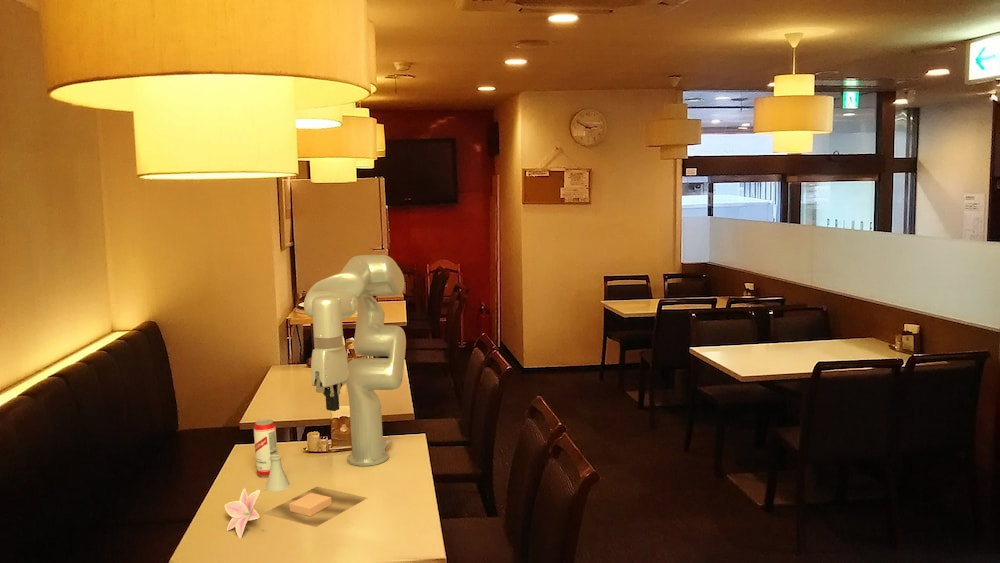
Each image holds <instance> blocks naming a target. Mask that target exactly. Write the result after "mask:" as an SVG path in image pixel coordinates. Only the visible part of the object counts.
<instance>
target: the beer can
mask: <svg viewBox="0 0 1000 563" xmlns="http://www.w3.org/2000/svg"><path fill="white" fill-rule="evenodd" d="M276 430H277V427H276V425H275V423H274V420H273V419H269V418H264V419H258V420H256V421H255V424H254V426H253V437H254V438H253V439H254V452H255V453H254V454H255V468H256V475H257V476H259V478H260V477H261V478H269V474H270V469H271V460H270V459H269V458H270V456H272V455H279V454H278V444H277V442H278V441H277V431H276Z"/></svg>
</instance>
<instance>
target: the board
mask: <svg viewBox="0 0 1000 563" xmlns="http://www.w3.org/2000/svg"><path fill="white" fill-rule="evenodd" d="M310 493H314V494H319V495H323V496H327V497H331V504H332V505H330V506H328V507H326V508H324V509H323V510H321V511H319V512H317V513H315V514H313V515H312V516H308V515H304V514H299V513H295V512H291V511H290V505H289V504H290V503H292V502H294V501H296V500H298V499H300V498H302V497H304V496H306V495H308V494H310ZM367 499H368V497H366V496H361V495H356V494H353V493H347V492H343V491H339V490H335V489H330V488H326V487H321V486H315V487H313V488H311V489H309V490H307V491H305V492H303V493H302V494H301V493H300V494H299V495H297V496H296V497H292V498H291V499H289V500H287V501H285V502H283V503H281V504H279V505H278V506H275V507H273V508H272V509H269V510H268V511H266V512H263V514H264V515H268V516H270V517H276V518H279V519H283V520H287V521H290V522H295V523H297V524H298V523H299V524H302V525H305V526H306V525H307V526H309V527H315V528H317V527H319V526H320V525H322V524H324V523H326V522H328V521H329V520H331V519H333V518H335V517H336V516H338V515H340V514H342V513H343V512H345V511H347V510H350V508H353V507H354V506H356V505H357V504H360V503H362V502H363V501H365V500H367Z"/></svg>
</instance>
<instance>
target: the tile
mask: <svg viewBox="0 0 1000 563" xmlns="http://www.w3.org/2000/svg"><path fill="white" fill-rule="evenodd" d="M289 505H290V511H291V512H295V513H299V514H304V515H308V516H312V515H313V514H315V513H317V512H319V511H321V510H323V509H324V508H326V507H328V506H330V505H332V504H331V497H327V496H323V495H319V494H314V493H310V494H308V495H306V496H304V497H302V498H300V499H298V500H296V501H294V502H292V503H290V504H289Z"/></svg>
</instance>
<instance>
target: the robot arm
mask: <svg viewBox="0 0 1000 563" xmlns="http://www.w3.org/2000/svg"><path fill="white" fill-rule="evenodd" d="M404 289H405V277H404V274H403V271H402V270H401V268H400V266H398V264H397V262H396V261H395V260H394V259H393V258H392V257H390V256H389V255H386V254H360V255H355V256H353V257H352V258H350V259H349V260H348V262H347V263H346V265H345V266H343V268H342V270H341V271H340V272H338V273H336V274H333V275H331V276H328V277H326V278H323V279H321V280H319V281H317V282H315V283H314V284H313V285H312V286H311V287H310V288H309V290H308V291H307V293H306V295H305V298H304V300H303V301H304V302H303V310H304V313H305V314H306V315H307V317H309V318H310V319H312V326H313V328H312V330H313V342H314V343H313V344H314V349H312V352H311V359H310V360H311V361H310V363H311V364H310V381H311V386H313V387H316V388H315V392H316V393H319V394H321V393H322V394H323V396H324V397H325V407H326V411H331V412H337V411H338V410H340V398H339V397H340V396H339V395H341V390H342V387H343V386H345V385H346V388H347V394H348V402H349V403H348V404H349V420H350V421H349V422H350V439H351V453H349V454H348V455H347V457H346V459H347V460H346V461H347V462H348V464H350V465H353V466H359V467H360V466H361V467H367V466H368V467H369V466H374V465H380V464H382V463H384V462H386V461H387V460H389V455H390V454H389V452H388V451H386V448H387V447H388V446H391V445H392V442H393V441H392V439H390V438H387V439H385V440H384V439H383V438H384V436H383V435H384V434H383V433H384V432H383V418H382V415H383V414H382V402H381V399H380V397H379V396H378V394H377V393H376V391H392V390H398V389H399V388H400V387H401V385H402V382H403V377H404V370H405V360H406V359H405V358H406V348H407V339H406V333H405V331H404V329H403V328H402V327H401V326H398V325H385V315H386V314H385V310H384V308H383V307H382V306H381V304H380V303H379V302H378V301H377V300H376V299H375V296H376V297H382V296H383V297H388V296H389V297H394V296H399V295H400V294H402V293H403V291H404ZM355 314H357V315H356V323H355V332H354V337H353V338H354V340H353V349H354V352H355V353H356V354H357V355H360V356H362V357H359V358H353V359H351V360H348V357H347V355H348V354H347V351H346V350H347V349H346V347H345V345H344V338H345V337H344V330H343V320H345V319H349V318H352V317H353V316H354V315H355ZM376 357H377V358H376ZM379 357H380V358H379ZM381 357H382V358H381ZM386 357H387V358H386Z"/></svg>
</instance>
